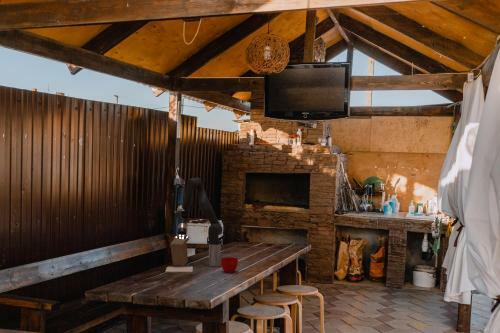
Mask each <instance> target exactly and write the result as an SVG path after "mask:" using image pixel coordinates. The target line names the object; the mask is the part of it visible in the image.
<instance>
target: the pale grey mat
mask: <svg viewBox="0 0 500 333" xmlns="http://www.w3.org/2000/svg"><path fill="white" fill-rule="evenodd" d="M193 271H194V266H184V267H182V266H167V267H166V269H165V273H193Z"/></svg>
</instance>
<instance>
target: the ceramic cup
mask: <svg viewBox="0 0 500 333" xmlns="http://www.w3.org/2000/svg"><path fill="white" fill-rule="evenodd" d="M238 264H239V258H238V257H232V256H231V257H227V256H226V257H222V258H221V257H220V266H221V268H222V270H223V272H225V273H228V274H229V273H230V274H232V273H234V272H235V271H236V270H237V267H238Z"/></svg>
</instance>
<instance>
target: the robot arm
mask: <svg viewBox="0 0 500 333" xmlns="http://www.w3.org/2000/svg"><path fill="white" fill-rule="evenodd" d="M203 184H204V183H203V181H202V180H201V178H200V177H192V178H189V179H188V180H187V183H186V187H185V195H184V198H183V201H182V204H181V209H179V210H178V211H177V212H176V217H177V222H178V223H177V224H178V225H177V234H176V236H174V237H173V240H174V239H186V243H187V242H188V241H190V236H188V235H187V233H188V226H187V224H188V219H189V218H190V210H191V206H192V203H193V198H192V193H193V191H194V190H196V192H197V193H198V207H199V208H200V211H201V213H202V215H204V217H205V218H206V219H207V220H208V222H209V223H210V225H209V227H208V231H207V239H208V266H209V267H220V266H221V250H222V249H221V246H222V245H221V240H220V238H219V236H220V235H221V234H222V233H223V226H222V225H221V223H220V221H219V219H218V218H217V215H216V213H215V211H214V209H213V207H212V204H211V201H210V200H209V198H208V195H207V193H206V190H205V187H204V185H203Z"/></svg>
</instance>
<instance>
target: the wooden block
mask: <svg viewBox="0 0 500 333" xmlns="http://www.w3.org/2000/svg"><path fill="white" fill-rule="evenodd" d="M170 251H171V260H172V261H171V262H172V267H186V266H187V263H188V262H189V259H188V258H189V256H188V247H187V242H186V239H178V238H177V239H174V238H173V240H172V241H171V243H170Z"/></svg>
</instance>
